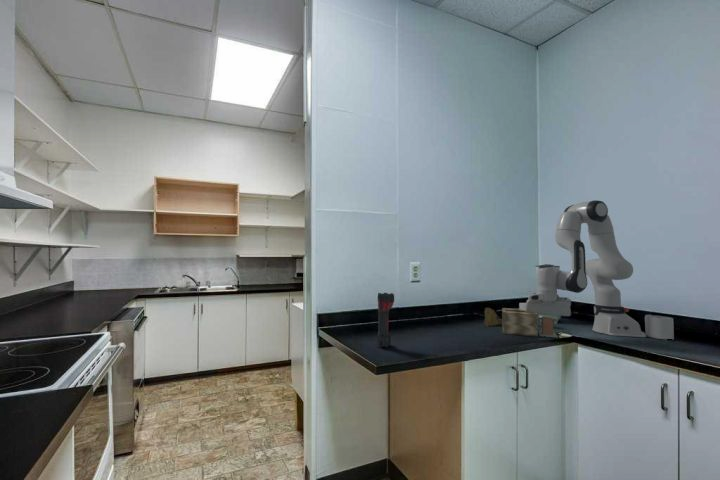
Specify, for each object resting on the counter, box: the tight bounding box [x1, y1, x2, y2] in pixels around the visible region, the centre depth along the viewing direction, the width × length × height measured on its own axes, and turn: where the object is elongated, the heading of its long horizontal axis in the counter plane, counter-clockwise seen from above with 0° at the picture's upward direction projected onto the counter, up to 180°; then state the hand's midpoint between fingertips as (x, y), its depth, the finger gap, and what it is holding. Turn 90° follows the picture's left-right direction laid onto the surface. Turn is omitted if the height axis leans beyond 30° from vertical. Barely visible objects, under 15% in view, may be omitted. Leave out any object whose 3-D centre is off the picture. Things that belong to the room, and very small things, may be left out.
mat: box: [538, 330, 559, 339], centre depth 168 cm, size 8×10×1 cm
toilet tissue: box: [644, 314, 675, 340], centre depth 166 cm, size 11×12×10 cm
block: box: [541, 317, 554, 335], centre depth 168 cm, size 4×4×8 cm
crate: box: [501, 307, 539, 338], centre depth 174 cm, size 16×14×11 cm
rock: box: [484, 307, 501, 327], centre depth 191 cm, size 11×9×10 cm
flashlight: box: [376, 292, 395, 348], centre depth 146 cm, size 8×8×23 cm
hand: (547, 323), depth 169 cm, fingers open, 5 cm apart
